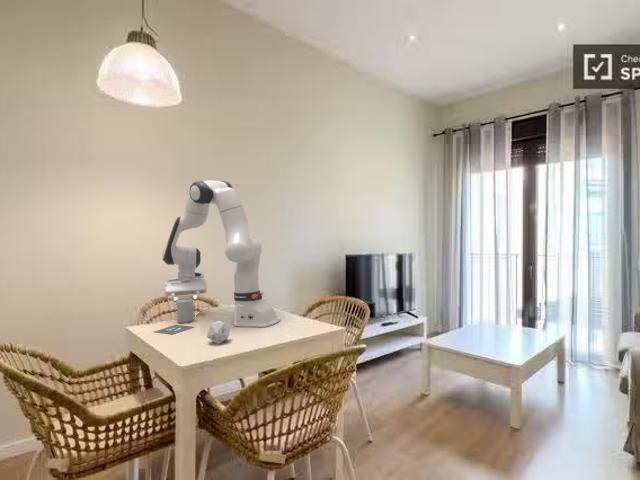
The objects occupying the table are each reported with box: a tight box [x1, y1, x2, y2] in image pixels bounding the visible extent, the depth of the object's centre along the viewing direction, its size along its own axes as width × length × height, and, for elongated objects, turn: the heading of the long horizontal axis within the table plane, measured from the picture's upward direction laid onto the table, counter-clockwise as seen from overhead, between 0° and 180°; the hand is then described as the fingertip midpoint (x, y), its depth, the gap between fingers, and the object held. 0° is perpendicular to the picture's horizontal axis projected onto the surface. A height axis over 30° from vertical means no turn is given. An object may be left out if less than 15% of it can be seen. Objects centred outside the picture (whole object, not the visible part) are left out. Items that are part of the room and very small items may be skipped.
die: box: [206, 320, 231, 345], centre depth 138 cm, size 8×9×10 cm
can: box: [175, 295, 195, 324], centre depth 173 cm, size 8×8×12 cm
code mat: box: [153, 324, 194, 336], centre depth 159 cm, size 12×12×1 cm
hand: (185, 300), depth 179 cm, fingers open, 8 cm apart
